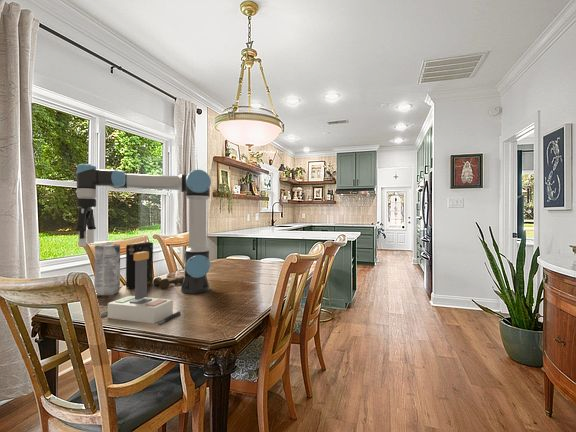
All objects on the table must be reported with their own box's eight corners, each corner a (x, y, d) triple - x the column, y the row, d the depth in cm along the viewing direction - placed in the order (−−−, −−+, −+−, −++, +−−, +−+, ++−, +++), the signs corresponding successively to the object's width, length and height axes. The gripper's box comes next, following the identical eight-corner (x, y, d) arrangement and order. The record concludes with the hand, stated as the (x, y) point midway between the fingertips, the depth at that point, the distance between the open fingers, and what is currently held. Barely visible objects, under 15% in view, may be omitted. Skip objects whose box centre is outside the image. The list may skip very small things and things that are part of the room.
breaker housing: (172, 314, 133) (172, 298, 133) (153, 323, 122) (153, 306, 122) (129, 309, 139) (129, 294, 139) (107, 317, 128) (107, 301, 128)
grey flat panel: (181, 314, 133) (181, 311, 133) (160, 325, 120) (160, 321, 120) (124, 307, 141) (124, 304, 141) (99, 317, 128) (99, 313, 128)
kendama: (187, 286, 186) (153, 291, 171) (178, 284, 192) (145, 288, 177) (187, 276, 186) (154, 280, 171) (178, 274, 192) (146, 278, 177)
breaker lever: (148, 296, 133) (148, 251, 133) (138, 300, 127) (138, 253, 127) (143, 295, 134) (144, 251, 133) (133, 299, 128) (133, 253, 128)
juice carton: (113, 296, 160) (114, 243, 160) (92, 296, 159) (92, 243, 159) (121, 291, 169) (121, 241, 169) (101, 291, 168) (101, 241, 168)
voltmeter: (137, 289, 174) (137, 244, 173) (123, 288, 175) (123, 244, 175) (154, 283, 189) (154, 242, 189) (141, 282, 191) (142, 241, 190)
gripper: (84, 199, 154) (84, 242, 154) (68, 196, 131) (68, 247, 131) (101, 199, 157) (102, 241, 157) (88, 197, 133) (89, 247, 133)
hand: (86, 244), depth 144 cm, fingers open, 13 cm apart
